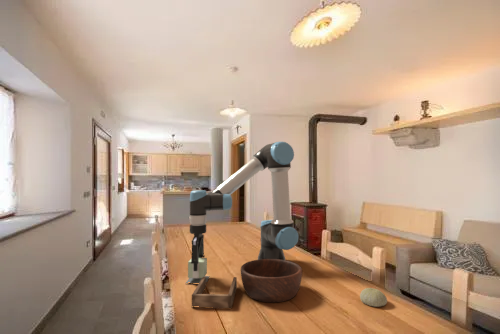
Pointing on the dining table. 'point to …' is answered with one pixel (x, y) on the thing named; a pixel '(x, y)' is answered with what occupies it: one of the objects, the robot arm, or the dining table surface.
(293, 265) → the wooden bowl
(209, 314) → the dining table surface
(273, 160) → the robot arm
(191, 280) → the slate mat
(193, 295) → the walnut cubby
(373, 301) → the sea urchin shell
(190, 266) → the sage block
